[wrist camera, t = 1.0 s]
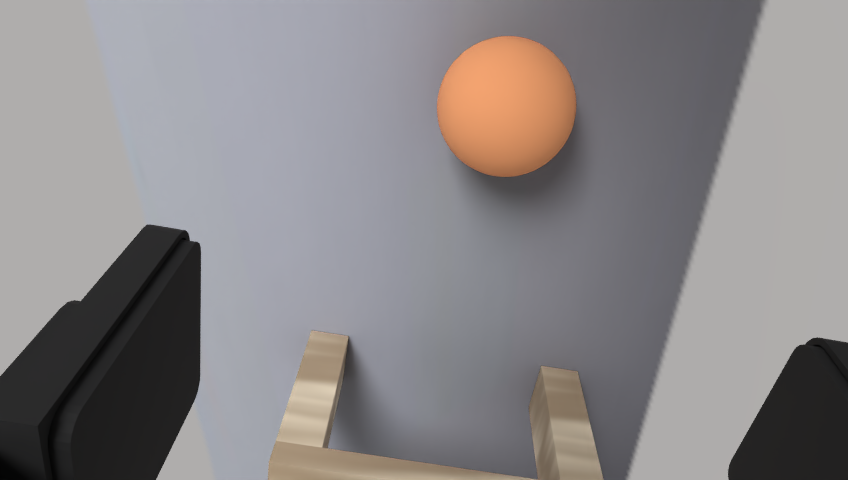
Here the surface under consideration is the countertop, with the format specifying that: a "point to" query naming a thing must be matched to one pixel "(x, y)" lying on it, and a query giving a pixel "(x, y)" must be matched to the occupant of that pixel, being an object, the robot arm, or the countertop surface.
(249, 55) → the countertop surface
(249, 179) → the countertop surface
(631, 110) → the countertop surface
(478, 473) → the bridge
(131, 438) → the robot arm
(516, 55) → the ball
